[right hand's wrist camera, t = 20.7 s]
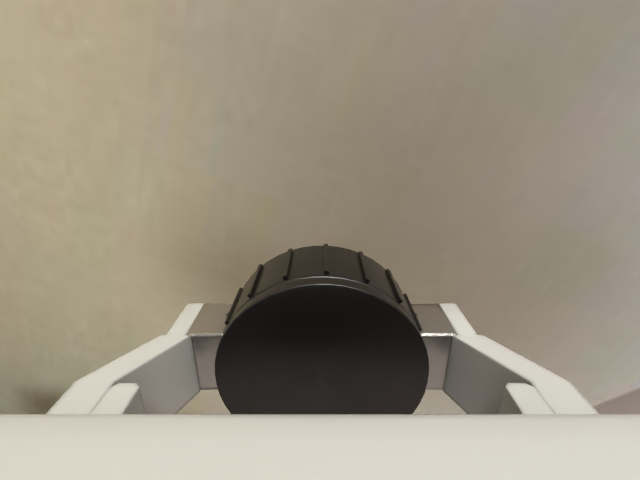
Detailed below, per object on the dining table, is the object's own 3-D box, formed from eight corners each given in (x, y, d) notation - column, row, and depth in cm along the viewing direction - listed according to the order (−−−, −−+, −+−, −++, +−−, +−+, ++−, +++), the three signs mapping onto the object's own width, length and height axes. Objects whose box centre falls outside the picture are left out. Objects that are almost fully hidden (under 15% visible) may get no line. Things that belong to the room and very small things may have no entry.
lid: (301, 414, 12) (297, 481, 10) (195, 304, 10) (163, 356, 8) (440, 342, 11) (469, 400, 9) (346, 205, 9) (354, 236, 7)
